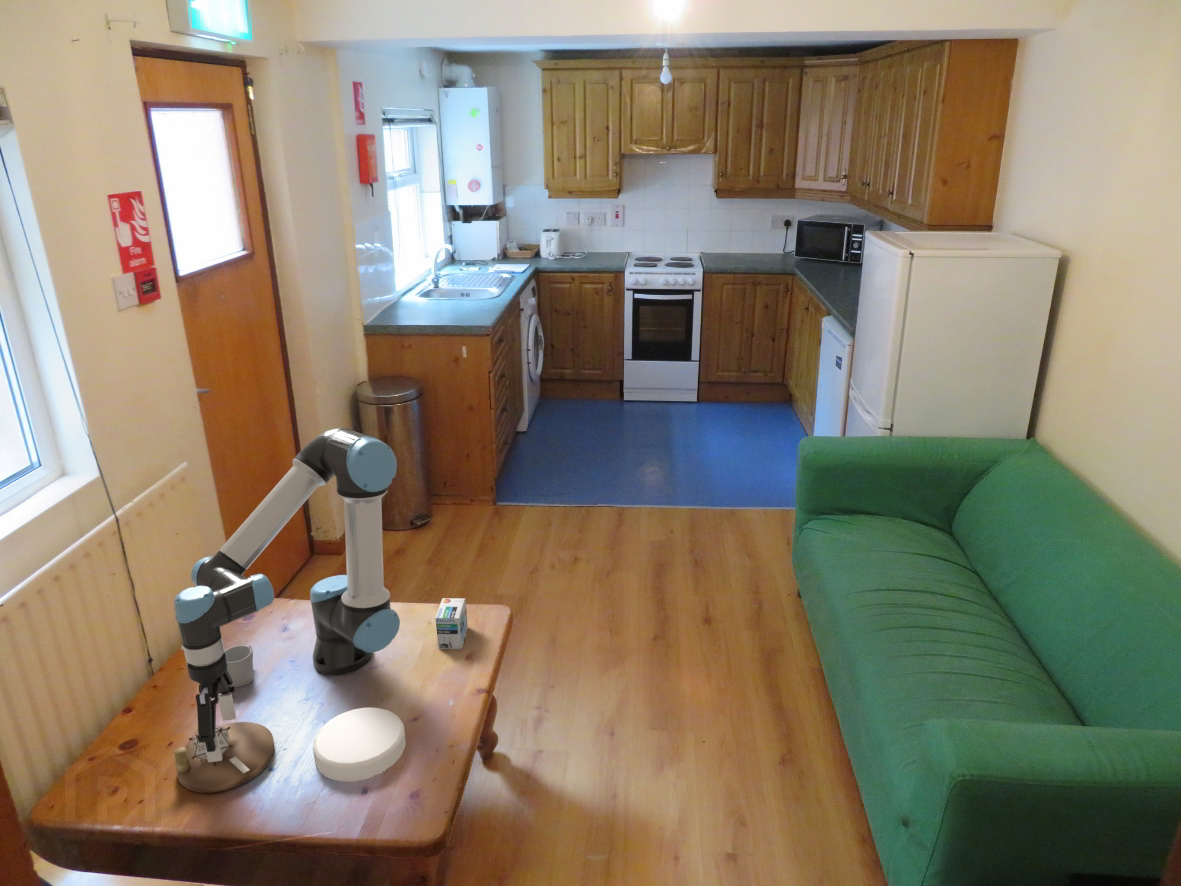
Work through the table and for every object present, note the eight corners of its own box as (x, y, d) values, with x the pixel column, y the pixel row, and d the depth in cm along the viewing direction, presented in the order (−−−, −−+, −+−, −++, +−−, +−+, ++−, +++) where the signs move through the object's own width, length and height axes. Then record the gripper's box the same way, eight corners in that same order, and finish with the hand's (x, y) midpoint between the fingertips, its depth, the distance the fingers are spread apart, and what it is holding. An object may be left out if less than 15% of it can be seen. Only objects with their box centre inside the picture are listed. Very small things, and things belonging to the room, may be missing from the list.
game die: (249, 731, 183) (219, 716, 175) (234, 770, 178) (203, 757, 170) (218, 729, 186) (187, 714, 178) (202, 768, 181) (170, 754, 173)
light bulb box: (462, 653, 220) (459, 618, 216) (437, 653, 220) (434, 618, 216) (468, 630, 230) (466, 597, 226) (444, 630, 230) (442, 597, 226)
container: (310, 735, 190) (308, 718, 189) (397, 712, 198) (395, 696, 196) (319, 794, 173) (316, 776, 171) (414, 766, 180) (412, 749, 179)
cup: (219, 690, 206) (213, 661, 203) (240, 666, 216) (235, 638, 213) (247, 692, 205) (241, 663, 202) (267, 668, 215) (262, 640, 212)
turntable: (247, 717, 195) (242, 693, 193) (291, 755, 183) (287, 729, 180) (161, 763, 181) (155, 737, 179) (203, 807, 169) (197, 780, 166)
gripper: (201, 627, 184) (217, 705, 191) (169, 695, 161) (189, 782, 168) (237, 623, 185) (251, 701, 192) (210, 691, 162) (228, 776, 169)
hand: (222, 739), depth 180 cm, fingers open, 13 cm apart
